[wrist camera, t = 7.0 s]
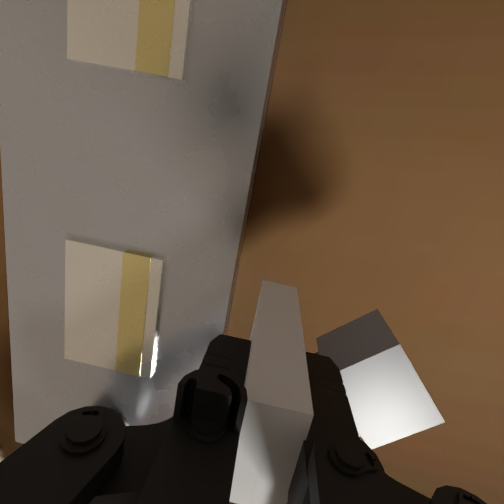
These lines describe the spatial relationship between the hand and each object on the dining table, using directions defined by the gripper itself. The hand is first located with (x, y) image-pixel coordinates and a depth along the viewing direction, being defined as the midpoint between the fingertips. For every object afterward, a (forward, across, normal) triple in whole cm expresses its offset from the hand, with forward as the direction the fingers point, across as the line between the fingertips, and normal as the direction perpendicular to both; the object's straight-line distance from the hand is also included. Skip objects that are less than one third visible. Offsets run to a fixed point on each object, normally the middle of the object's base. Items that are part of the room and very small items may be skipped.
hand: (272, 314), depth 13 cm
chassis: (+5, -8, +3) cm, 10 cm away
